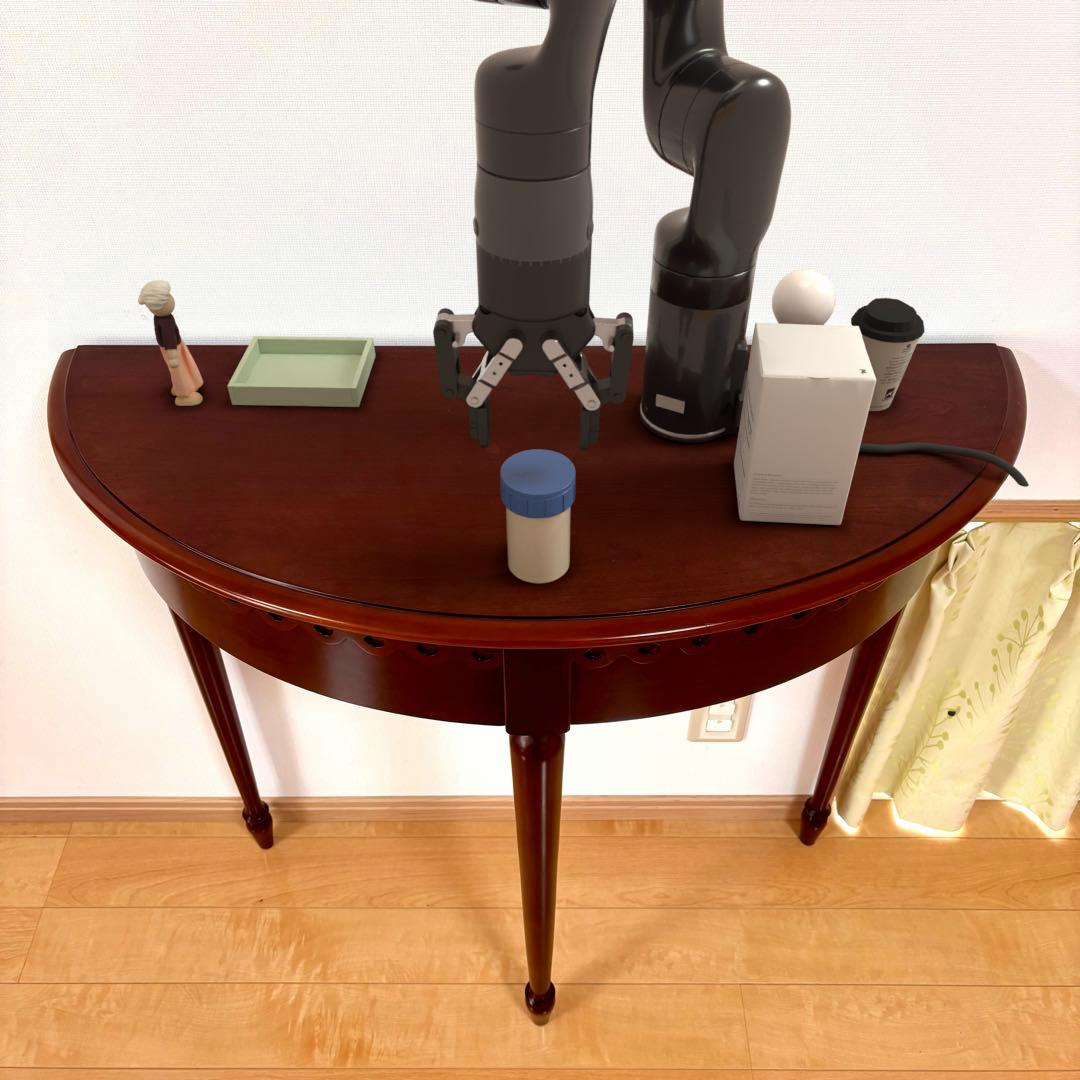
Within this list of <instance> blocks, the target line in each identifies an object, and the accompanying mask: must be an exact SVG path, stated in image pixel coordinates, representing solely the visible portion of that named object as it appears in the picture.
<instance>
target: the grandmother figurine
mask: <svg viewBox="0 0 1080 1080" xmlns="http://www.w3.org/2000/svg"><path fill="white" fill-rule="evenodd" d="M171 290H172V288H171V284H170V282H169V281H166V280H164V279H163V280H162V279H155V280H150V281H148V282H146V283H145V284H144V285H143V287H142V288H141V290H140V292H139V293H140V294H139V295H138V298H137V303H138V305H141V306H143V305H144V306H145V308H147V309H148V310H149V312H150V313H151V314H153V327H154V336H155V339H156V342H157V343H156V344H157V345H158V346H159V349H160V353H161V355H162V357H163V360H164V361H165V364H166V365H167V368H168V370H169V373H170V379H171V383H172V387H171V390H170V392H171V394H172V395H173V396H176V397H175V399H174V403H175V405H176V406H178V407H179V406H180V407H194V406H198V405H200V404H201V403H202V402H203V396H202V395H201V393H199V392H197V391H198V390H199V388H201V387H202V386H203V384H204V379H203V377H202V375H201V373H200V369H199V368H198V365H197V363H196V362H195V360H194V359H195V358H194V357H193V356H192V354H191V352H190V350H189V348H188V346H187V344H186V343H185V342H184V340H183V339H182V336H181V334H180V329H179V326H178V325H177V322H176V319H175V317H174V314H172V313H173V312H174V310H175V308H176V302H175V298H174V296H173V295H172V294H171V293H170V292H171Z"/></svg>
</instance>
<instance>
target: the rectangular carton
mask: <svg viewBox="0 0 1080 1080" xmlns="http://www.w3.org/2000/svg"><path fill="white" fill-rule="evenodd" d="M750 347H751V348H750V353H749V359H748V365H747V366H748V367H747V371H748V373H747V380H746V387H745V393H744V400H743V407H742V414H741V420H740V427H738V434H737V441H736V447H735V453H734V458H733V459H734V461H733V470H734V478H735V480H734V481H735V489H736V499H737V508H738V516H739V520H740V521H742V522H743V521H745V522H764V523H765V522H766V523H784V524H785V523H787V524H805V525H806V524H809V525H826V526H827V525H828V526H840V525H842V522H843V519H844V513H845V509H846V505H847V502H848V497H849V494H850V489H851V485H852V481H853V477H854V474H855V473H854V472H855V469H856V466H857V465H856V464H857V461H858V457H859V453H860V451H859V448H860V444H861V443H862V441H863V436H864V432H865V427H866V424H867V419H868V417H869V412H870V411H869V408H870V404H871V400H872V396H873V392H874V388H875V384H876V377H875V375H874V372H873V369H872V366H871V363H870V360H869V357H868V354H867V351H866V348H865V345H864V341H863V338H862V334H861V332H860V329H859V326H852V325H833V324H824V325H805V324H778V322H777V323H776V322H775V323H773V322H758V321H757V322H754V329H753V334H752V340H751V346H750Z"/></svg>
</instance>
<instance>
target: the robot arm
mask: <svg viewBox="0 0 1080 1080" xmlns="http://www.w3.org/2000/svg"><path fill="white" fill-rule="evenodd" d="M473 1H474V2H478V3H483V4H491V5H501V6H509V7H518V8H528V9H538V10H545V11H547V10H548V13H549V20H548V28H547V30H546V31H547V32H546V34H545V36H544V39H543V41H542V42H541V44H537V45H527V46H522V47H521V46H519V47H513V48H508V49H504V50H500V51H497V52H495V53H492V54H490V55H488V56H487V57H486V58H484V59H483V60H482V61H481V63H480V64H479V66H478V67H477V69H476V72H475V75H474V82H473V83H474V85H473V86H474V87H473V99H474V100H473V101H474V102H473V103H474V129H475V130H474V132H475V133H474V134H475V154H476V173H475V183H474V197H473V198H474V200H473V201H474V204H473V206H474V215H473V219H472V223H473V232H474V235H475V254H476V278H477V301H478V303H477V307H476V309H475V311H474V313H470V314H467V313H466V314H464V313H463V314H455V313H454V311H453V310H451V309H450V308H447V307H444V308H441V309H439V310H438V312H437V315H436V319H435V322H434V326H433V330H432V335H433V342H434V349H435V357H436V365H437V372H438V381H439V388H440V393H441V396H442V398H444V399H446V400H449V401H450V400H451V401H452V400H455V399H458V400H461V401H463V402H465V404H466V405H467V407H468V427H469V436H470V439H471V440H472V441H478V447H479V448H483V449H484V448H485V449H489V448H490V443H491V433H492V432H491V431H492V428H491V427H492V426H491V400H490V394H491V392H492V390H493V389H495V388H496V387H497V386H498V384H499V383H500V381H501V380H502V379H503V377H504V375H505V374H506V373H507V372H509V373H510V376H516V377H517V376H522V377H523V376H528V375H532V374H534V375H539V376H542V377H556V374H558V373H559V375H560V376H561V378H562V380H563V381H564V382H565V384H566V385H567V387H568V388H569V390H570V391H573V393H575V395H576V397H577V399H578V400H579V401H580V415H579V419H580V420H579V445H578V446H579V447H578V450H579V451H589V448H590V445H589V444H594V445H595V444H597V442H598V440H599V435H600V431H599V430H600V413H601V408H602V407H604V406H605V405H606V404H610V403H612V404H614V405H620V404H623V403H624V402H625V401H626V399H627V393H628V384H629V377H630V368H631V361H632V354H633V346H634V337H635V335H634V334H635V333H634V319H633V315H631V314H630V313H629V312H626V311H624V312H623V311H622V312H620V313H618V314H617V315H616V317H615V318H610V317H607V318H606V317H596V316H595V314H594V312H593V311H592V308H591V305H590V299H591V296H590V295H591V275H592V273H591V271H592V247H593V246H592V245H593V233H594V228H595V226H594V188H593V179H592V161H591V160H592V139H593V117H594V99H595V98H594V97H595V90H596V84H597V78H598V74H599V68H600V64H601V59H602V55H603V52H604V48H605V44H606V39H607V36H608V31H609V28H610V24H611V21H612V18H613V14H614V11H615V8H616V4H617V1H618V0H473ZM724 3H725V2H724V0H642V13H643V14H642V32H643V33H642V115H643V124H644V130H645V134H646V138H647V141H648V143H649V145H650V147H651V149H652V150H653V152H654V153H655V154H656V156H657V157H658V158H660V160H662V161H663V162H664V163H665V164H667V165H669V166H671V168H675V169H676V170H678V171H680V172H682V173H684V174H686V175H688V176H690V177H692V178H693V183H692V188H691V194H690V201H689V206H685V207H680V208H677V209H674V210H672V211H669V212H667V213H666V214H664V215H663V216H662V217H661V218H660V219H659V220H658V222H657V223H656V226H655V229H654V233H653V234H654V235H653V245H652V255H651V256H652V257H651V259H652V260H651V270H650V284H649V297H648V312H647V324H646V337H645V350H644V365H643V377H642V389H641V390H642V392H641V397H640V398H641V399H640V405H639V417H640V421H641V423H642V425H643V426H644V427H645V428H646V429H647V430H648V431H650V432H651V433H652V434H654V435H656V436H658V437H661V438H663V439H666V440H669V441H672V442H677V443H687V444H688V443H689V444H697V443H706V442H710V441H712V440H713V441H714V440H716V439H719V438H721V437H723V436H724V435H725V436H726V435H735V434H736V433H737V428H739V427H740V420H741V414H742V407H743V400H744V393H745V387H746V380H747V373H748V370H747V369H746V368H747V364H748V358H749V357H748V356H749V344H748V341H747V337H746V335H747V328H748V324H749V323H748V322H749V316H750V315H749V314H750V308H751V302H752V295H753V289H754V282H755V275H756V269H757V261H758V257H759V252H760V247H761V244H762V242H763V241H764V238H765V237H766V234H767V232H768V230H769V228H770V226H771V223H772V220H773V217H774V214H775V210H776V209H775V208H776V205H777V204H776V203H777V200H778V195H779V189H780V185H781V180H782V177H783V176H782V175H783V171H784V166H785V161H786V157H787V152H788V147H789V142H790V135H791V128H792V104H791V99H790V94H789V91H788V88H787V87H786V84H785V83H784V81H782V79H781V78H780V77H778V76H777V75H776V74H774V73H773V72H770V71H769V70H766V69H764V68H761V67H758V66H756V65H753V64H750V63H748V62H745V61H743V60H740V59H737V58H734V57H731V56H729V53H728V48H727V41H726V34H725V32H726V31H725V16H724V15H725V13H724V11H725V9H724V8H725V5H724ZM472 333H473V335H474V337H475V338H476V339H477V340H478V341H479V342H480V344H481V345H482V346H483V347H484V349H485V350H486V352H485V354H484V356H483V358H482V361H481V362H480V364H479V365H478V367H477V368H476V370H475V371H474V373H473V375H472V376H469V375H466V374H464V373H462V368H461V359H460V351H459V348H461V347H463V346H464V344H465V343H466V337H467V335H469V334H472ZM594 337H598V338H599V339H600V340H601V342H602V347H603V350H605V351H607V352H609V353H611V357H610V363H609V374H608V377H605V378H601V379H598V378H597V376H596V375H595V373H594V371H593V370H592V369H591V367H590V365H589V362H588V359H587V358H586V356H585V354H584V352H583V350H584V349H585V348H586V347H587V346H588V345H589V343H590V342H591V341H592V340H593V338H594ZM915 451H917V452H918V451H921V452H922V451H923V452H930V453H931V452H932V453H938V454H944V455H945V454H946V455H954V456H959V457H967V458H971V459H976V460H980V461H983V462H986V463H989V464H992V465H994V466H996V467H997V468H999V469H1001V470H1003V471H1004V472H1005V473H1007V474H1008V475H1009V476H1010V477H1011V478H1012V479H1013V480H1014V481H1015V482H1016V483H1017V485H1019V486H1021V487H1024V488H1026V487H1029V486H1030V484H1029V482H1028V481H1027V479H1026V477H1025V476H1024V475H1023V474H1022V473H1021V472H1020V471H1019V469H1017V468H1016V467H1015V466H1014V465H1013V464H1011V463H1010V462H1008V461H1007V460H1006V459H1003V458H1002V457H1000V456H997V455H995V454H992V453H989V452H986V451H983V450H978V449H974V448H969V447H961V446H954V445H947V444H941V443H934V442H933V443H932V442H924V441H923V442H922V441H921V442H920V441H914V442H913V441H912V442H902V443H892V444H890V443H889V444H878V443H865V442H863V443H862V442H861V444H860V448H859V452H862V453H863V452H864V453H877V454H879V453H880V454H894V453H895V454H896V453H905V452H915ZM956 713H957V710H948V711H947V715H948V716H949V717H955V716H956Z"/></svg>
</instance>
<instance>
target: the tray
mask: <svg viewBox="0 0 1080 1080" xmlns="http://www.w3.org/2000/svg"><path fill="white" fill-rule="evenodd" d="M376 356H377V355H376V349H375V341H374V338H373V337H352V336H351V337H346V336H345V337H344V336H343V337H342V336H341V337H339V336H338V337H337V336H277V335H276V336H275V335H274V336H271V335H260V336H259V335H253V336H252V339H251V340H250V342H249V344H248V346H247V348H246V350H245V351H244V354H243V356H242V357H241V359H240V361H239V363H238V365H237V367H236V369H235V371H234V372H233V375H232V376H231V379H230V380H229V382H228V384H227V386H226V387H227V391H228V394H229V398H230V402H231V405H232V406H271V407H272V406H275V407H276V406H277V407H278V406H279V407H281V406H282V407H331V408H333V407H335V408H338V407H339V408H359V407H360V405H361V401H362V399H363V396H364V392H365V389H366V386H367V383H368V380H369V377H370V374H371V371H372V368H373V365H374V362H375V359H376Z"/></svg>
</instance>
